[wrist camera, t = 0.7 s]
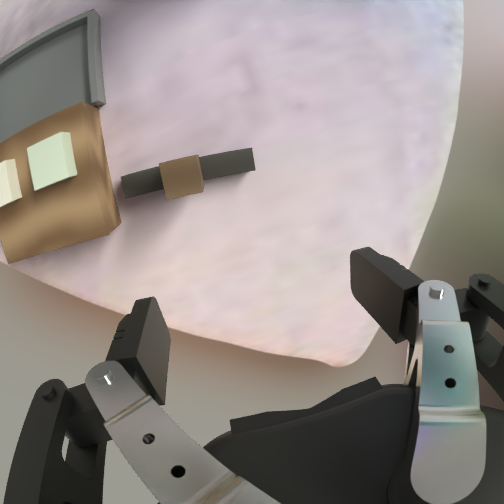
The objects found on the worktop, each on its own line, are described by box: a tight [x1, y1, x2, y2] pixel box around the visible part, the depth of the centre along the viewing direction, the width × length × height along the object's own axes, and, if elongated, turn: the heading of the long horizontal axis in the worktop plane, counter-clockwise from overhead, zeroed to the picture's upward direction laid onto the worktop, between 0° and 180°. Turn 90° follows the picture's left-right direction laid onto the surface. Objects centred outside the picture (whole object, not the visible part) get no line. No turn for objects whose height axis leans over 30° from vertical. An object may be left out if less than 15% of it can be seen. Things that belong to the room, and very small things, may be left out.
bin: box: [0, 9, 106, 143], centre depth 21 cm, size 13×18×2 cm
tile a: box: [0, 159, 22, 208], centre depth 20 cm, size 4×4×2 cm
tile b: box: [27, 132, 77, 191], centre depth 21 cm, size 4×4×2 cm
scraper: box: [121, 148, 255, 200], centre depth 25 cm, size 3×14×10 cm, turn 99°
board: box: [0, 102, 121, 264], centre depth 25 cm, size 14×16×5 cm
